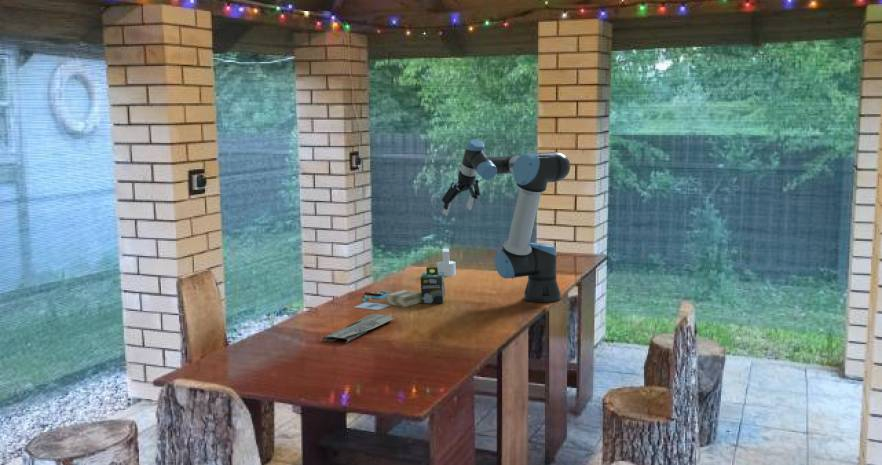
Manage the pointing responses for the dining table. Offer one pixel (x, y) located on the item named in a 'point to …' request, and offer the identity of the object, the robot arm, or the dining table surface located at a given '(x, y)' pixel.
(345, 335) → the newspaper
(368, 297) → the gear mechanism
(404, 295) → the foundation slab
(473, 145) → the robot arm
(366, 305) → the blueprint sheet
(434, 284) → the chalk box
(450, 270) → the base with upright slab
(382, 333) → the dining table surface
